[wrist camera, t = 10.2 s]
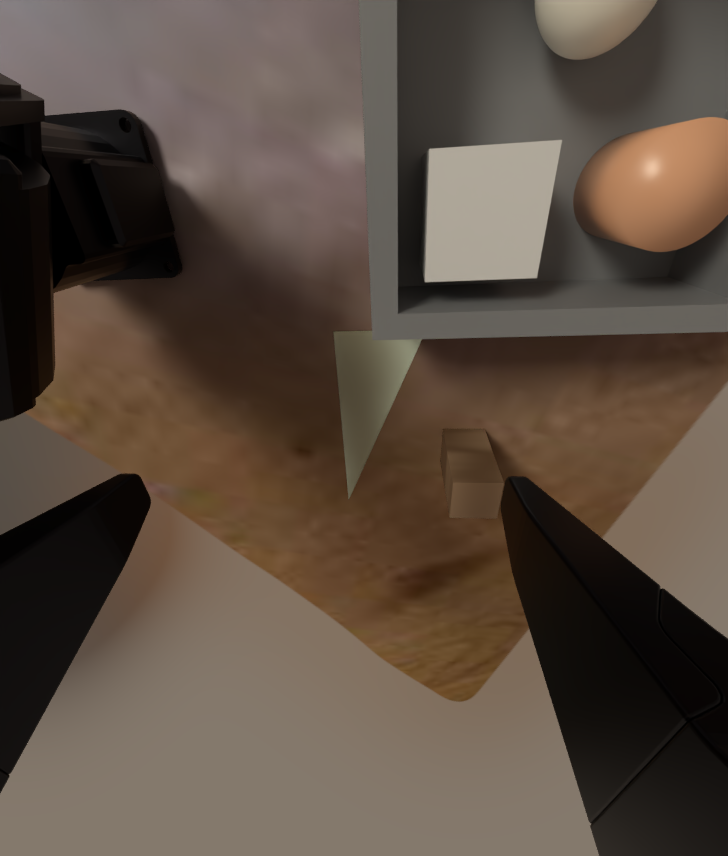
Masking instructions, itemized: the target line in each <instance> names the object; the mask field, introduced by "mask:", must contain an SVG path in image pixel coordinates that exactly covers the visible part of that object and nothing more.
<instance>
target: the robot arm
mask: <svg viewBox="0 0 728 856" xmlns="http://www.w3.org/2000/svg"><path fill="white" fill-rule="evenodd" d="M126 119H128V120H129V122H130V124H131V131H130V132H128V131H127V130H126V128H125V121H126ZM174 231H175V228H174V225H173V221H172V218H171V214H170V211H169V207H168V204H167V200H166V197H165V193H164V190H163V186H162V183H161V179H160V176H159V172H158V170H157V168H156V167H155V166H154V165H153V162H152V159H151V155H150V152H149V148H148V145H147V141H146V138H145V135H144V131H143V128H142V125H141V122H140V120H139V119H138V117H137V116H136V115H135V114H133V113H132V112H129V111H126V110H109V111H97V112H85V113H73V114H61V115H49V116H45V114H44V100H43V99H42V98H40V97H38V96H36V95H34V94H32V93H30V92H28V91H26V90H24V89H22V88H21V85H20V84H19V83H17V82H15V81H13V80H12V79H10V78H8V77H6V76H4V75H2V74H1V73H0V421H4V420H7V419H10V418H13V417H15V416H17V415H19V414H21V413H23V412H25V411H27V410H29V409H31V408H33V407H34V406H35V405H36V397H38V396H39V395H40V394H41V393H42V392H43V391H44V390H45V389H46V388H47V387H48V385H49V384H50V383H51V382H52V381H53V378H54V370H55V339H54V300H53V293H55V292H58V291H61V290H65V289H68V288H71V287H74V286H77V285H80V284H83V283H86V282H90V281H99V280H123V279H148V278H172V277H175V276H178V275H179V274H180V273H181V272H182V263H181V260H180V256H179V253H178V249H177V246H176V242H175V239H174V235H173V233H174ZM167 262H170V263H172V265H173V267H174V270H173V271H172V270H171V269H169V267H168V265H167ZM150 504H151V499H150V496H149V494H148V492H147V489H146V487H145V485H144V483H143V481H142V479H141V477H140V476H139V475H137V474H119V475H117V476H115V477H113V478H111V479H109V480H107V481H105V482H103V483H101V484H99V485H97V486H95V487H93V488H91V489H89V490H87V491H85V492H83V493H81V494H80V495H78V496H76V497H74V498H72V499H70V500H68V501H66V502H64V503H62V504H60V505H58V506H56V507H54V508H52V509H50V510H48V511H46V512H45V513H42V514H41V515H39V516H37V517H35V518H33V519H31V520H29V521H27V522H25V523H23V524H21V525H19V526H17V527H15V528H13V529H11V530H9V531H7V532H5V533H4V534H2V535H0V793H1V791H2V789H3V787H4V786H5V784H6V782H7V780H8V778H9V774H10V773H11V772H12V770H13V769H14V767H15V765H16V763H17V761H18V759H19V758H20V756H21V754H22V752H23V750H24V748H25V747H26V745H27V743H28V741H29V739H30V737H31V736H32V734H33V732H34V730H35V728H36V726H37V725H38V723H39V721H40V719H41V717H42V716H43V714H44V712H45V710H46V708H47V706H48V705H49V703H50V701H51V699H52V697H53V695H54V694H55V692H56V690H57V688H58V686H59V685H60V683H61V681H62V679H63V677H64V675H65V674H66V672H67V670H68V668H69V666H70V665H71V663H72V661H73V659H74V657H75V655H76V654H77V652H78V650H79V648H80V646H81V644H82V643H83V641H84V639H85V637H86V635H87V633H88V632H89V630H90V628H91V626H92V624H93V623H94V620H95V619H96V617H97V615H98V613H99V611H100V610H101V608H102V606H103V604H104V602H105V601H106V599H107V597H108V595H109V593H110V591H111V590H112V588H113V586H114V584H115V582H116V581H117V579H118V577H119V575H120V573H121V571H122V570H123V567H124V566H125V564H126V562H127V560H128V557H129V555H130V553H131V551H132V548H133V546H134V543H135V541H136V539H137V537H138V534H139V532H140V530H141V527H142V525H143V523H144V520H145V518H146V515H147V513H148V511H149V508H150ZM501 514H502V519H503V525H504V530H505V536H506V541H507V547H508V552H509V558H510V563H511V568H512V573H513V576H514V580H515V584H516V587H517V590H518V593H519V596H520V600H521V603H522V606H523V609H524V613H525V616H526V619H527V622H528V626H529V629H530V632H531V635H532V638H533V642H534V645H535V648H536V651H537V655H538V658H539V661H540V664H541V667H542V671H543V674H544V677H545V681H546V684H547V687H548V690H549V694H550V697H551V700H552V703H553V707H554V710H555V713H556V716H557V719H558V722H559V726H560V729H561V732H562V735H563V739H564V742H565V745H566V749H567V752H568V755H569V758H570V761H571V765H572V768H573V771H574V775H575V778H576V781H577V784H578V787H579V791H580V794H581V797H582V800H583V804H584V807H585V810H586V813H587V817H588V820H589V822H590V823H591V826H590V827H591V830H592V833H593V837H594V840H595V843H596V847H597V850H598V853H599V856H728V638H726V637H725V636H723V635H722V634H721V633H720V632H718V631H717V630H715V629H714V628H713V627H712V626H710V625H709V624H708V623H707V622H705V621H704V620H703V619H701V618H700V617H699V616H698V615H696V614H695V613H694V612H692V611H691V610H690V609H688V608H687V607H686V606H685V605H683V604H682V603H681V602H680V601H679V600H677V599H676V598H675V597H674V596H672V595H671V594H670V593H669V592H668V591H666V590H665V589H660V585H659V584H657V583H656V582H655V581H653V579H651V578H650V577H649V576H648V575H646V574H645V573H644V572H642V571H641V570H640V569H639V568H638V567H636V566H635V565H634V564H632V562H630V561H629V560H628V559H627V558H625V557H624V556H623V555H622V554H620V553H619V552H618V551H617V550H615V549H614V548H613V547H612V546H611V545H609V544H608V543H607V542H606V541H604V540H603V539H602V538H601V537H600V536H598V535H597V534H596V533H595V532H593V531H592V530H591V529H590V528H588V527H587V526H586V525H585V524H584V523H582V522H581V521H580V520H579V519H577V518H576V517H575V516H574V515H572V514H571V513H570V512H569V511H567V510H566V509H565V508H564V507H563V506H561V505H560V504H559V503H558V502H556V501H555V500H554V499H553V498H551V497H550V496H549V495H548V494H547V493H545V492H544V491H543V490H542V489H540V488H539V487H538V486H537V485H535V484H534V483H533V482H532V481H531V480H529V479H528V478H526V477H519V476H510V477H508V478H507V479H506V481H505V485H504V490H503V496H502V501H501Z"/></svg>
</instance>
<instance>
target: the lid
mask: <svg viewBox="0 0 728 856" xmlns="http://www.w3.org/2000/svg"><path fill="white" fill-rule="evenodd" d="M333 333H334V344H335V355H336V366H337V377H338V388H339V399H340V410H341V421H342V432H343V443H344V454H345V465H346V476H347V487H348V498H350V496H351V494H352V492H353V489H354V487H355V485H356V483H357V481H358V479H359V476H360V474H361V472H362V470H363V468H364V465H365V463H366V461H367V459H368V457H369V454H370V452H371V450H372V448H373V446H374V443H375V441H376V439H377V437H378V435H379V432H380V430H381V428H382V426H383V424H384V422H385V419H386V417H387V415H388V413H389V411H390V408H391V406H392V404H393V402H394V400H395V397H396V395H397V393H398V391H399V389H400V386H401V384H402V382H403V380H404V378H405V376H406V373H407V371H408V369H409V367H410V365H411V362H412V360H413V358H414V356H415V354H416V351H417V349H418V347H419V345H420V343H421V340H422V339H409V340H372V331H338V332H333ZM440 462H441V468H442V474H443V480H444V487H445V493H446V499H447V505H448V511H449V518H483V519H497V516H498V511H499V506H500V501H501V496H502V491H503V486H504V481H503V479H502V476H501V473H500V470H499V468H498V465H497V462H496V459H495V456H494V454H493V451H492V448H491V445H490V443H489V440H488V437H487V434H486V432H485V429H443V435H442V448H441V460H440Z"/></svg>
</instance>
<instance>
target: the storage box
mask: <svg viewBox="0 0 728 856" xmlns="http://www.w3.org/2000/svg"><path fill="white" fill-rule="evenodd" d="M359 21H360V45H361V70H362V95H363V120H364V144H365V169H366V194H367V218H368V243H369V268H370V292H371V317H372V340H409V339H451V338H492V337H534V336H575V335H617V334H658V333H700V332H728V0H359Z"/></svg>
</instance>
